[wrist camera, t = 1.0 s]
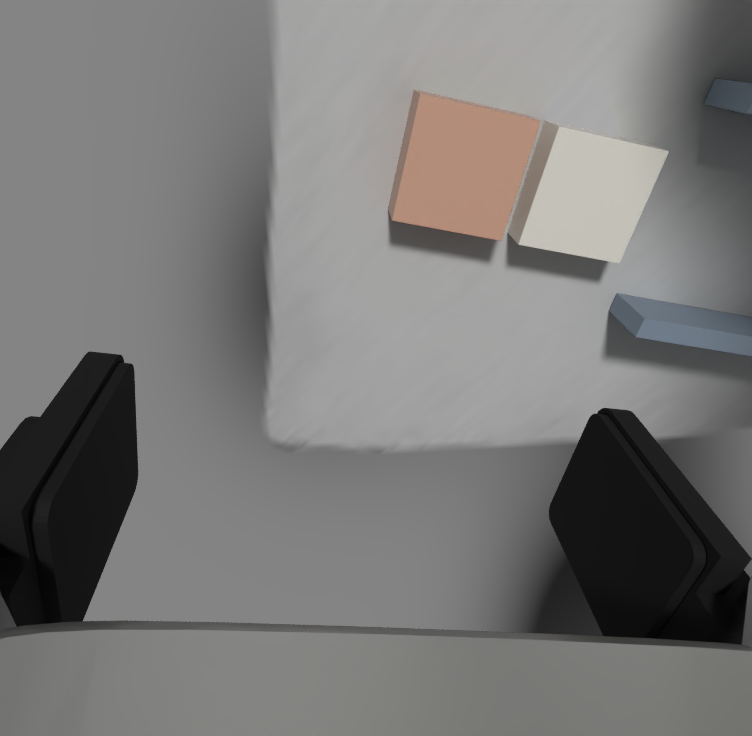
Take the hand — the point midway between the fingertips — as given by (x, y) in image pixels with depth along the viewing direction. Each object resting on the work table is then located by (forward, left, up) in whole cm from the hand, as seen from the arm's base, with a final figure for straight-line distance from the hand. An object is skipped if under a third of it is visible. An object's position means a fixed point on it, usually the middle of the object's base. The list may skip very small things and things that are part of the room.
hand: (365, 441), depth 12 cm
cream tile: (-2, +13, -22) cm, 26 cm away
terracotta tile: (-2, +6, -22) cm, 23 cm away
